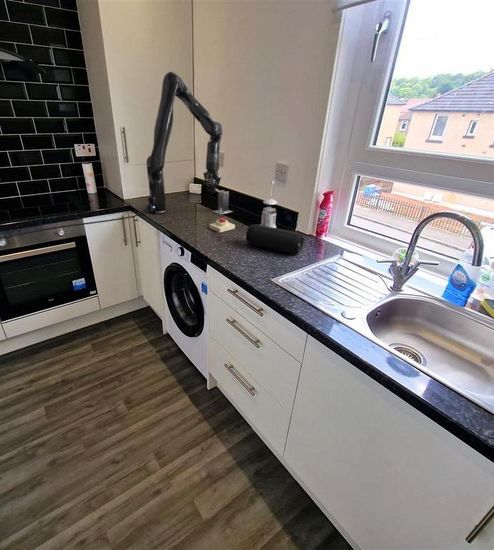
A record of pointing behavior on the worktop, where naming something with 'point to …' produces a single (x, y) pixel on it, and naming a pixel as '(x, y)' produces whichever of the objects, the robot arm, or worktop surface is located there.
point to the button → (222, 220)
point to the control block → (221, 226)
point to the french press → (269, 213)
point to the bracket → (223, 203)
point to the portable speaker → (275, 239)
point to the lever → (216, 189)
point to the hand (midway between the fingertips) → (211, 191)
